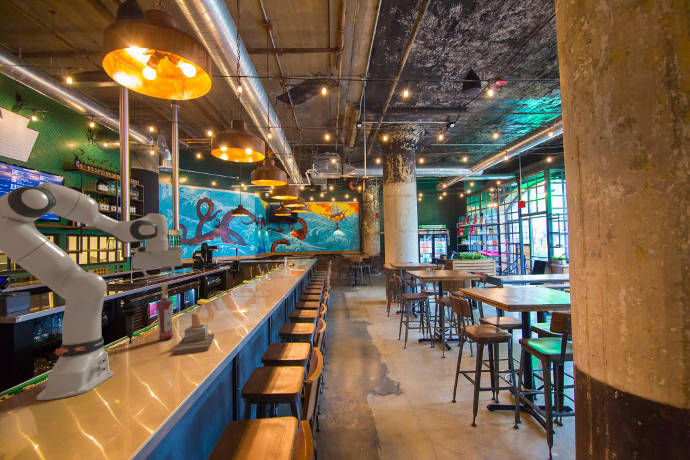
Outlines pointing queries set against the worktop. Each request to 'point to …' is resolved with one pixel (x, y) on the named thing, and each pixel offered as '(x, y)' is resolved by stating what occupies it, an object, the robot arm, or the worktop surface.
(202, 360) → the worktop surface
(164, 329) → the liquor
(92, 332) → the robot arm
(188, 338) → the well board
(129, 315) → the microphone
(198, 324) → the peg
